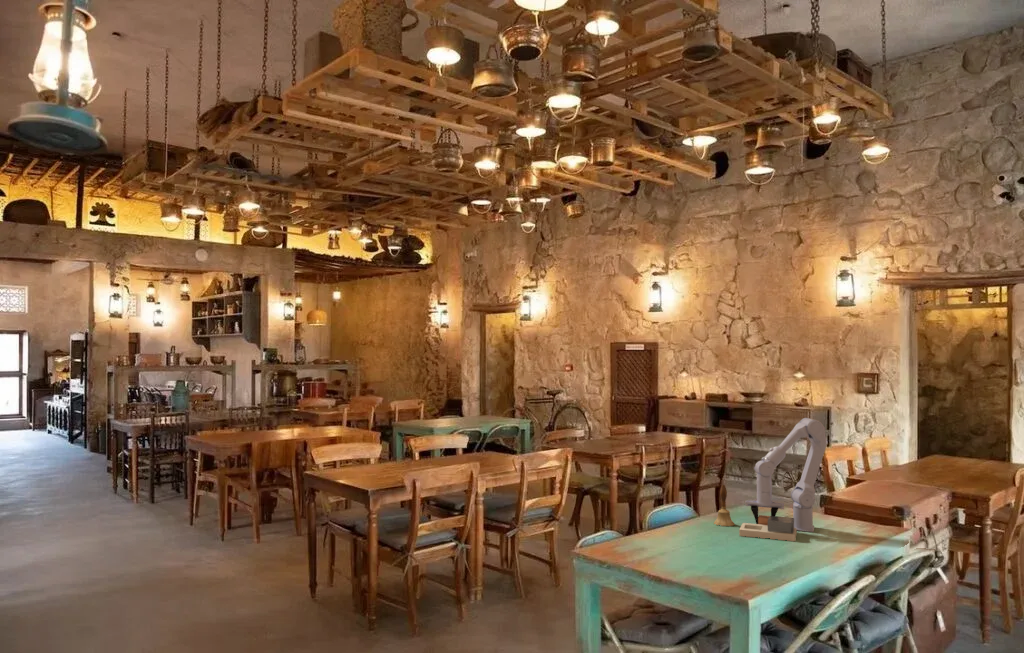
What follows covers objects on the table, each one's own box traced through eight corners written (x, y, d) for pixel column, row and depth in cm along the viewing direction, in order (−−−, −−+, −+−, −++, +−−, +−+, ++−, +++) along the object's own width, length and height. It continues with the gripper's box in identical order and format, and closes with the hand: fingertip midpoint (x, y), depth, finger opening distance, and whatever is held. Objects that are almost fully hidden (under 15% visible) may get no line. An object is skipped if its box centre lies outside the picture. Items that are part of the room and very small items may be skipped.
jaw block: (759, 527, 293) (759, 515, 293) (771, 528, 291) (771, 516, 291) (758, 530, 289) (758, 517, 289) (770, 531, 287) (770, 518, 287)
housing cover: (769, 525, 285) (769, 515, 285) (794, 527, 281) (794, 517, 281) (767, 530, 276) (767, 520, 276) (793, 533, 273) (792, 523, 273)
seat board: (742, 528, 290) (742, 522, 290) (796, 533, 282) (796, 527, 282) (739, 535, 279) (739, 529, 279) (795, 541, 271) (794, 534, 271)
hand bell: (709, 523, 300) (708, 484, 301) (725, 521, 304) (724, 482, 304) (723, 527, 293) (722, 487, 293) (739, 525, 296) (738, 486, 296)
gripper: (784, 490, 291) (784, 525, 290) (746, 488, 297) (746, 521, 296) (783, 494, 284) (783, 529, 284) (744, 491, 290) (744, 525, 290)
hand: (764, 525), depth 290 cm, fingers open, 5 cm apart
